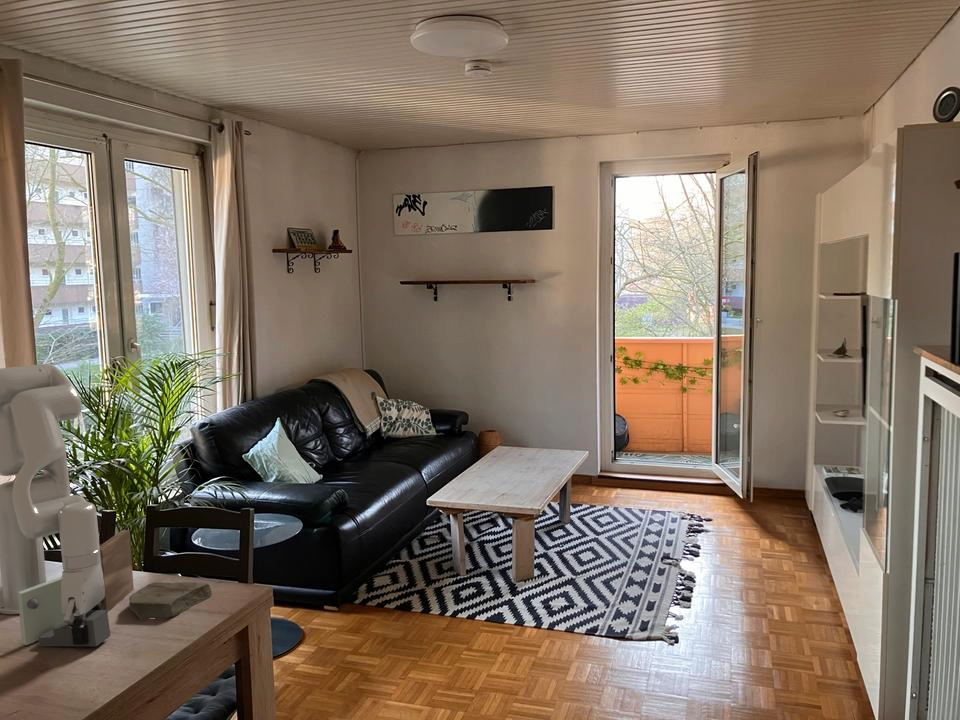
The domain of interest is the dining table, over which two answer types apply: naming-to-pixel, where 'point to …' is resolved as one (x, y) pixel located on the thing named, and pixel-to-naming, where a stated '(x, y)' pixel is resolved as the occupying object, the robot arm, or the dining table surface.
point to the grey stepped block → (63, 632)
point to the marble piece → (168, 598)
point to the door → (40, 609)
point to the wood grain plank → (116, 568)
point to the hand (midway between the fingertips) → (88, 636)
